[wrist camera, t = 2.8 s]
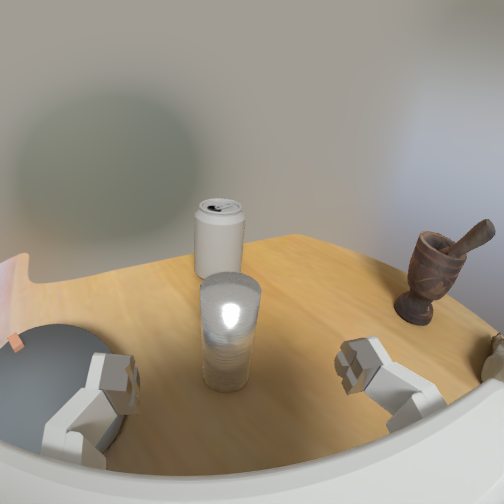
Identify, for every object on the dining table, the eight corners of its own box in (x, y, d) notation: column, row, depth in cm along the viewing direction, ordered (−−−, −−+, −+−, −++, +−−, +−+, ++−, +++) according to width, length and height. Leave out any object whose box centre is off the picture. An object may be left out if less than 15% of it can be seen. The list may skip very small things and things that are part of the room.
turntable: (162, 396, 24) (158, 382, 22) (44, 503, 9) (28, 497, 8) (68, 315, 30) (63, 300, 29) (-26, 381, 16) (-36, 368, 15)
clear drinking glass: (233, 400, 26) (241, 317, 20) (193, 377, 27) (187, 292, 22) (256, 369, 29) (271, 284, 24) (219, 350, 31) (222, 265, 26)
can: (188, 266, 47) (187, 198, 41) (227, 258, 50) (232, 193, 44) (205, 291, 41) (206, 216, 35) (248, 280, 45) (256, 210, 39)
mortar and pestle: (452, 326, 37) (502, 220, 27) (435, 348, 33) (496, 227, 23) (405, 292, 45) (442, 189, 36) (382, 308, 41) (424, 190, 31)
